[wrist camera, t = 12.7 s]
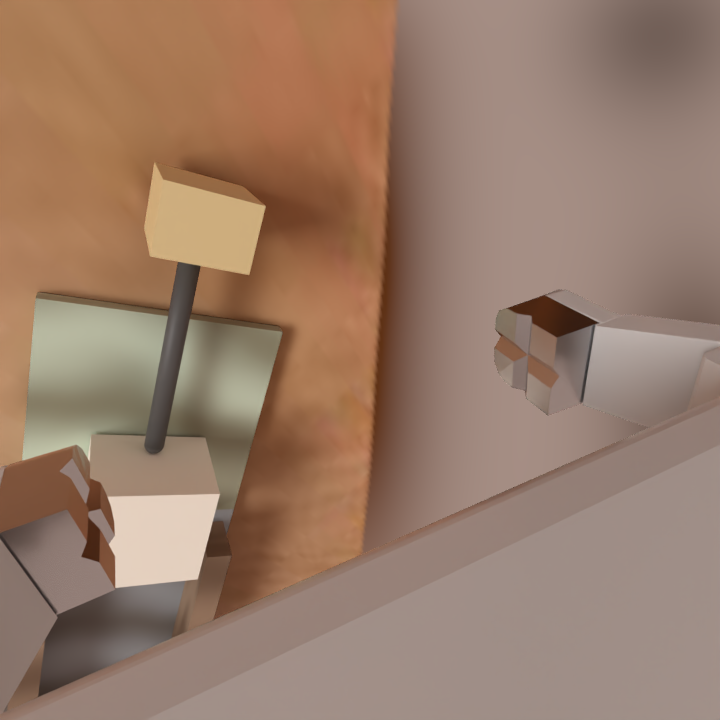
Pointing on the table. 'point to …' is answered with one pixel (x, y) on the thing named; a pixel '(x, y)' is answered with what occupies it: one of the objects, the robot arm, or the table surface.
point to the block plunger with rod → (174, 388)
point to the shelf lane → (130, 417)
